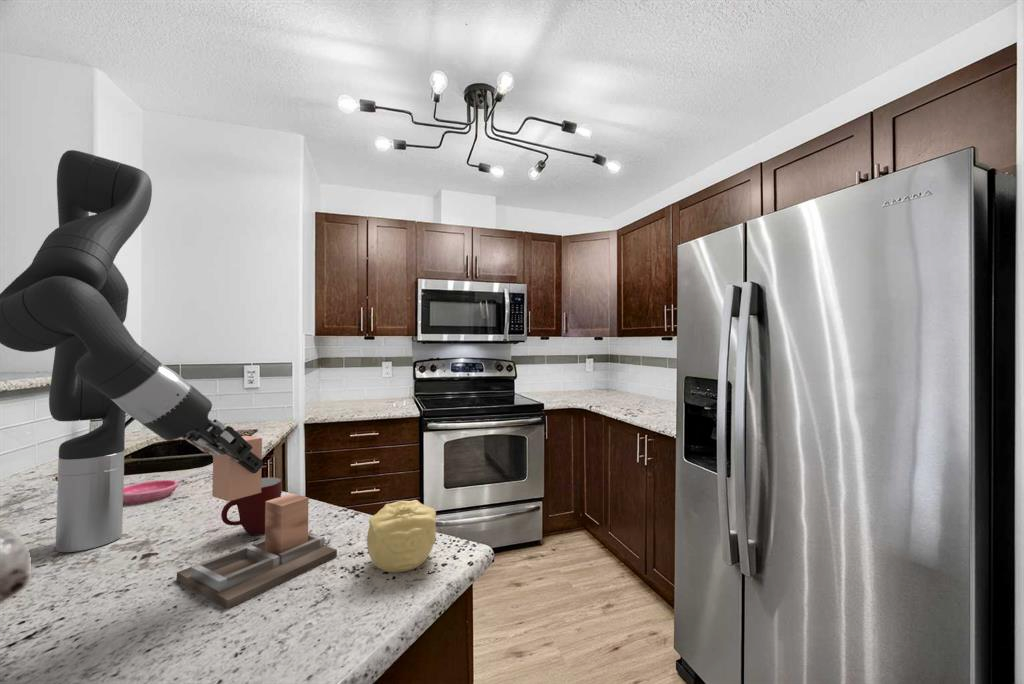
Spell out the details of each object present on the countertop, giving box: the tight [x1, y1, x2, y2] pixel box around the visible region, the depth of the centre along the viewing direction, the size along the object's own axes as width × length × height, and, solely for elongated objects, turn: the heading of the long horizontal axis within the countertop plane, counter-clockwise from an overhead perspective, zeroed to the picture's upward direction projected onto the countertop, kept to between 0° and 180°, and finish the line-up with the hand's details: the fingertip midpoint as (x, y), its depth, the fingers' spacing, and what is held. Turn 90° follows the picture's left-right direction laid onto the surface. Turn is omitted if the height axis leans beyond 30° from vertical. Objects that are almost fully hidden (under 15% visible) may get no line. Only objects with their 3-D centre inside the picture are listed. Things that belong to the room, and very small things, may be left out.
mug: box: [220, 477, 283, 536], centre depth 85 cm, size 11×8×10 cm
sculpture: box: [366, 499, 437, 573], centre depth 73 cm, size 12×12×11 cm
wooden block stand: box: [176, 493, 338, 610], centre depth 71 cm, size 16×18×10 cm
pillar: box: [211, 435, 263, 502], centre depth 68 cm, size 5×5×9 cm
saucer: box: [123, 479, 179, 505], centre depth 109 cm, size 12×12×3 cm
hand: (249, 466), depth 70 cm, fingers closed on pillar, 5 cm apart
